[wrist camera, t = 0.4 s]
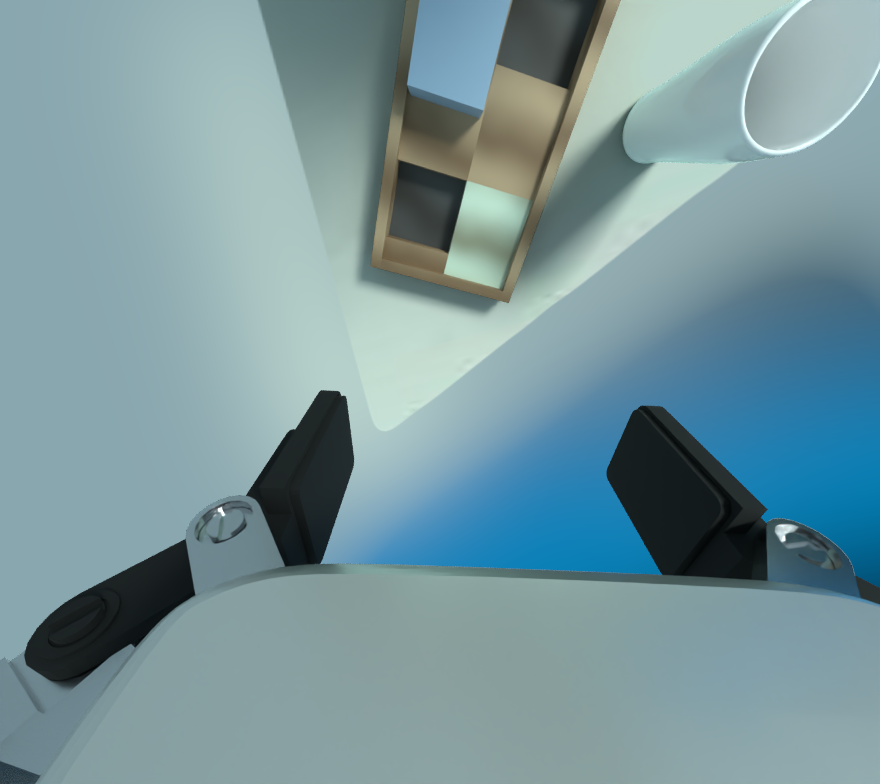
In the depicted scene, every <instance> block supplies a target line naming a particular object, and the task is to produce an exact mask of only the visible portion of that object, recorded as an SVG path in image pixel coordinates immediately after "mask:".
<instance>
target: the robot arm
mask: <svg viewBox="0 0 880 784" xmlns="http://www.w3.org/2000/svg"><path fill="white" fill-rule="evenodd" d="M353 466H354V455H353V446H352V438H351V430H350V422H349V414H348V406H347V399H346V396H341V394H340V392H339V391H324V390H323V391H322V390H321V391H320V392H319V393H318V395H317V396H316V398H315V399H314V401H313V403H312V404H311V406H310V407H309V409H308V410H307V412H306V414H305V415H304V417H303V418H302V420H301V422H300V423H299V425H298V426H297V428H296V429H295V430H294V429H293V430H290V431H289V432H288V433H287V434H286V436H285V437H284V438H283V440H282V441H281V443H280V445H279V446H278V448H277V449H276V451H275V452H274V454H273V455H272V457H271V458H270V460H269V461H268V463H267V464H266V466H265V467H264V469H263V471H262V472H261V474H260V475H259V476H258V478H257V480H256V481H255V483H254V484H253V486H252V487H251V489H250V490H249V492H248V493H247V495H246V496H242V495H238V496H230V497H227V498H223V499H220V500H218V501H216V502H214V503H212V504H210V505H208V506H207V507H206V508H204V509H203V510H202V511H200V512H199V513H198V514H197V515H196V516H195V517H194V519H193V520H192V521H191V522H190V524H189V526H188V529H187V530H186V539H185V540H183V541H181V542H179V543H177V544H175V545H173V546H171V547H169V548H167V549H165V550H164V551H162V552H159V553H158V554H156V555H154V556H152V557H150V558H148V559H146V560H144V561H142V562H140V563H138V564H136V565H134V566H132V567H130V568H128V569H127V570H125V571H123V572H121V573H119V574H117V575H115V576H113V577H111V578H109V579H107V580H105V581H103V582H101V583H99V584H97V585H96V586H94V587H92V588H90V589H88V590H86V591H84V592H82V593H80V594H78V595H77V596H75V597H74V598H72V599H70V600H69V601H67V602H65V603H64V604H63V605H61V606H60V607H59V608H58V609H56V610H55V611H54V612H53V613H52V614H50V615H49V616H48V617H47V619H45V621H44V622H43V623H42V624H41V625H40V626H39V627H38V628H37V629H36V631H35V632H34V634H33V635H32V637H31V639H30V640H29V642H28V644H27V647H26V650H25V651H24V652H23V653H21V654H20V655H19V656H17V657H16V658H14V659H13V660H12V661H10V660H8V659H6V658H3V659H2V660H0V784H880V588H879V587H877V586H875V585H872V584H871V583H869V582H867V581H865V580H863V579H861V578H859V577H857V576H855V574H854V570H853V567H852V564H851V562H850V560H849V558H848V557H847V556H846V555H845V554H844V552H843V551H842V550H841V549H840V548H839V547H838V546H836V545H835V544H834V543H833V542H832V541H830V540H829V539H828V538H826V537H824V536H823V535H822V534H820V533H819V532H817V531H815V530H813V529H811V528H809V527H807V526H805V525H803V524H800V523H798V522H795V521H792V520H787V519H782V518H780V519H779V518H778V519H772V520H770V521H768V522H767V523H765V521H763V519H761V516H762V515H763V514H764V513H765V512H766V511H767V509H766V508H765V507H764V506H763V505H762V504H761V503H760V502H759V501H758V500H757V499H756V498H755V497H754V496H753V495H752V494H751V493H750V492H749V491H748V490H747V489H746V488H745V487H744V486H743V485H742V484H741V483H740V482H739V481H738V480H737V479H736V478H735V477H734V476H733V475H732V474H731V473H730V472H729V471H728V470H727V469H726V468H725V467H723V465H722V464H721V463H720V462H719V461H717V460H716V459H715V458H714V457H713V456H712V455H711V454H710V453H709V452H708V451H707V450H706V449H705V448H704V447H703V446H702V445H701V444H700V443H699V442H698V441H697V440H696V439H695V438H694V437H693V436H692V435H691V434H690V433H689V432H688V431H687V430H686V429H685V428H684V427H683V426H682V425H681V424H680V423H679V422H678V421H677V420H676V419H675V418H674V417H673V416H671V414H669V413H668V412H667V411H666V410H665V409H664V408H663V407H660V406H640V407H639V408H638V409H637V410H634V411H633V413H632V414H631V416H630V419H629V421H628V423H627V426H626V428H625V430H624V432H623V435H622V437H621V439H620V441H619V443H618V446H617V448H616V450H615V453H614V455H613V457H612V460H611V461H610V464H609V466H608V468H607V478H608V481H609V482H610V484H611V486H612V488H613V489H614V491H615V493H616V495H617V497H618V498H619V500H620V502H621V503H622V505H623V507H624V508H625V511H626V512H627V514H628V516H629V517H630V519H631V521H632V523H633V524H634V526H635V528H636V530H637V532H638V533H639V535H640V537H641V539H642V540H643V542H644V544H645V546H646V548H647V549H648V551H649V553H650V555H651V556H652V558H653V560H654V562H655V563H656V565H657V567H658V569H659V570H660V572H661V573H662V575H649V574H628V573H606V572H582V571H556V570H555V571H554V570H532V569H531V570H530V569H506V568H478V567H450V566H449V567H448V566H421V565H384V564H320V563H321V561H322V559H323V556H324V553H325V550H326V547H327V544H328V541H329V538H330V535H331V532H332V529H333V526H334V523H335V520H336V518H337V514H338V512H339V508H340V505H341V503H342V500H343V497H344V494H345V491H346V488H347V484H348V482H349V479H350V476H351V473H352V470H353Z"/></svg>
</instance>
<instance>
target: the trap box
mask: <svg viewBox="0 0 880 784" xmlns="http://www.w3.org/2000/svg"><path fill="white" fill-rule="evenodd" d="M419 1H420V0H406V5H405V13H404V20H403V28H402V35H401V43H400V50H399V57H398V65H397V72H396V80H395V87H394V95H393V102H392V110H391V117H390V124H389V132H388V139H387V147H386V154H385V162H384V169H383V177H382V184H381V191H380V199H379V206H378V214H377V221H376V229H375V236H374V244H373V251H372V258H371V266H372V267H375V268H379V269H383V270H387V271H390V272H394V273H398V274H402V275H405V276H409V277H413V278H417V279H420V280H424V281H428V282H432V283H435V284H439V285H443V286H447V287H450V288H454V289H458V290H462V291H465V292H469V293H473V294H477V295H481V296H484V297H488V298H492V299H496V300H499V301H503V302H507V303H509V300H510V298H511V295H512V292H513V290H514V287H515V284H516V282H517V279H518V276H519V273H520V271H521V268H522V265H523V263H524V260H525V257H526V255H527V252H528V249H529V246H530V244H531V241H532V238H533V236H534V233H535V230H536V227H537V225H538V222H539V219H540V217H541V214H542V211H543V209H544V206H545V203H546V200H547V198H548V195H549V192H550V190H551V187H552V184H553V182H554V179H555V176H556V173H557V171H558V168H559V165H560V163H561V160H562V157H563V155H564V152H565V149H566V146H567V144H568V141H569V138H570V136H571V133H572V130H573V128H574V125H575V122H576V119H577V117H578V114H579V111H580V109H581V106H582V103H583V101H584V98H585V95H586V92H587V90H588V87H589V84H590V82H591V79H592V76H593V74H594V71H595V68H596V65H597V63H598V60H599V57H600V55H601V52H602V49H603V46H604V44H605V41H606V38H607V36H608V33H609V30H610V28H611V25H612V22H613V19H614V17H615V14H616V11H617V9H618V6H619V3H620V1H621V0H511V2H510V6H509V10H508V14H507V18H506V22H505V26H504V30H503V34H502V38H501V42H500V46H499V50H498V54H497V58H496V62H495V66H494V70H493V74H492V78H491V82H490V86H489V90H488V94H487V98H486V102H485V106H484V110H483V113H482V115H481V117H480V118H477V117H474V116H471V115H468V114H465V113H462V112H459V111H456V110H453V109H450V108H447V107H444V106H441V105H438V104H435V103H432V102H429V101H426V100H423V99H420V98H418V97H415V96H412V95H410V92H409V89H408V86H407V81H408V75H409V68H410V61H411V55H412V48H413V41H414V35H415V28H416V21H417V14H418V8H419Z"/></svg>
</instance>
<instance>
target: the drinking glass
mask: <svg viewBox="0 0 880 784" xmlns="http://www.w3.org/2000/svg"><path fill="white" fill-rule="evenodd" d="M879 69H880V0H794V1H792V2H790V3H788V4H786V5H784V6H782V7H780V8H778V9H776V10H775V11H773V12H771V13H769V14H767V15H766V16H764V17H762V18H760V19H759V20H757V21H755V22H753V23H752V24H750V25H749V26H747V27H745V28H744V29H742V30H741V31H739V32H738V33H736V34H735V35H733V36H732V37H730V38H729V39H727V40H726V41H724V42H723V43H721V44H720V45H718V46H717V47H716V48H714V49H713V50H711V51H710V52H708V53H707V54H706V55H704V56H703V57H701V58H700V59H698V60H697V61H696V62H694V63H693V64H691V65H690V66H688V67H687V68H685V69H684V70H683V71H681V72H680V73H678V74H677V75H675V76H674V77H672V78H671V79H669V80H668V81H666V82H665V83H663V84H662V85H660V86H658V87H656V88H654V89H653V90H651V91H649V92H648V93H646V94H645V95H644V96H643V97H642V98H640V99H639V100H638V102H637V103H636V104H635V105H634V107H633V108H632V110H631V111H630V113H629V115H628V117H627V119H626V122H625V125H624V130H623V145H624V149H625V151H626V153H627V155H628V156H629V157H630V158H631V159H632V160H634V161H635V162H638V163H645V164H646V163H655V162H672V163H702V164H728V163H741V162H750V161H756V160H762V159H768V158H774V157H780V156H785V155H789V154H793V153H796V152H798V151H801V150H803V149H805V148H807V147H809V146H811V145H813V144H814V143H816V142H818V141H819V140H820V139H822V138H823V137H825V136H826V135H827V134H829V133H830V132H831V131H832V130H833V129H835V128H836V127H837V126H838V125H839V124H840V123H841V122H842V121H843V120H844V119H845V118H846V117H847V116H848V115H849V114H850V113H851V112H852V111H853V109H854V108H855V107H856V106H857V104H858V103H859V102H860V101H861V99H862V98H863V96H864V95H865V94H866V92H867V91H868V89H869V87H870V86H871V84H872V82H873V80H874V79H875V77H876V75H877V73H878V71H879Z"/></svg>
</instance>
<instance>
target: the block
mask: <svg viewBox="0 0 880 784" xmlns="http://www.w3.org/2000/svg"><path fill="white" fill-rule="evenodd" d="M510 2H511V0H420V1H419V8H418V14H417V21H416V28H415V35H414V41H413V48H412V55H411V61H410V68H409V75H408V81H407V86H408V89H409V92H410V95H412V96H415V97H418V98H420V99H423V100H426V101H429V102H432V103H435V104H438V105H441V106H444V107H447V108H450V109H453V110H456V111H459V112H462V113H465V114H468V115H471V116H474V117H477V118H480V117H481V115H482V113H483V110H484V106H485V102H486V98H487V94H488V90H489V86H490V82H491V78H492V74H493V70H494V66H495V62H496V58H497V54H498V50H499V46H500V42H501V38H502V34H503V30H504V26H505V22H506V18H507V14H508V10H509V6H510Z"/></svg>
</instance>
